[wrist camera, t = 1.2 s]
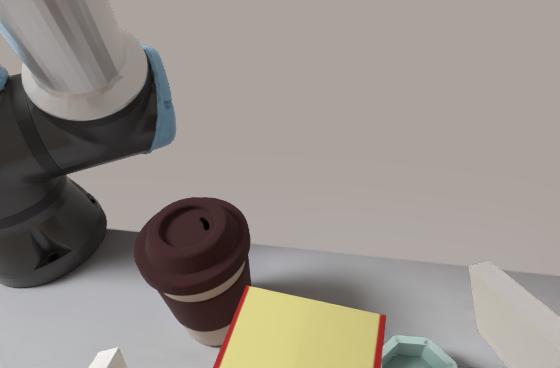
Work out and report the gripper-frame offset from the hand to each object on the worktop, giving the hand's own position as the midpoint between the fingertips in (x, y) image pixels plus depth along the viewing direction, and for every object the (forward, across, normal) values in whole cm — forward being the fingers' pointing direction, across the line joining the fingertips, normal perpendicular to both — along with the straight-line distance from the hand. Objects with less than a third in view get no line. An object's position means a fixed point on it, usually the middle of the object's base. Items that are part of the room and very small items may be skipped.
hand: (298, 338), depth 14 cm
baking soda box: (+16, -3, -20) cm, 26 cm away
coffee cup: (+26, -10, -14) cm, 31 cm away
